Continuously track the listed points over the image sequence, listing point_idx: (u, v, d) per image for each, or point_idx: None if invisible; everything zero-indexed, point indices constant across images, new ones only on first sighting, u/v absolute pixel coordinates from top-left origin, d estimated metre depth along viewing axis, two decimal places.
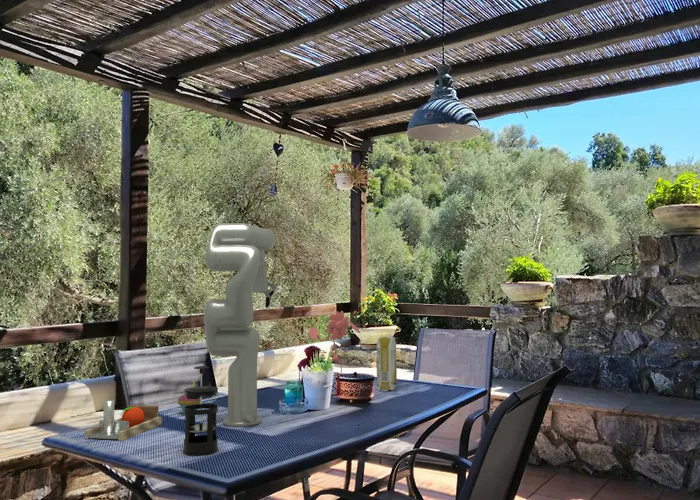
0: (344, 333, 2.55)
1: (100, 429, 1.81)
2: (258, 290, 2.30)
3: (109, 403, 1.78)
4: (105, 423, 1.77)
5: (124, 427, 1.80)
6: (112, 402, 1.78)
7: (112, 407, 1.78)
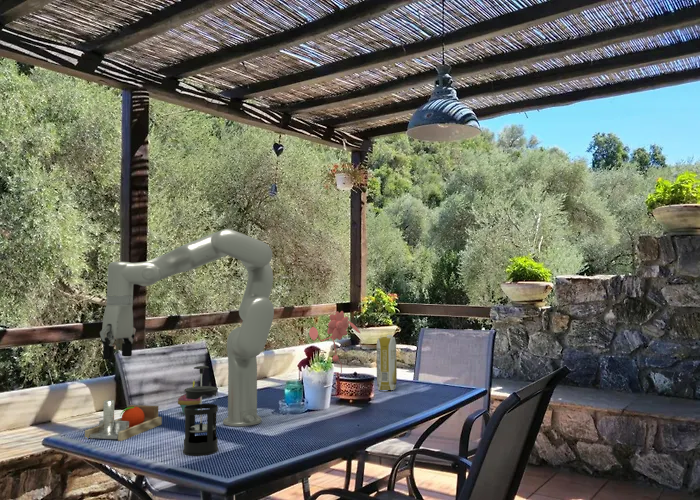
0: (344, 333, 2.55)
1: (100, 429, 1.81)
2: None
3: (109, 403, 1.78)
4: (105, 423, 1.77)
5: (124, 427, 1.80)
6: (112, 402, 1.78)
7: (112, 407, 1.78)
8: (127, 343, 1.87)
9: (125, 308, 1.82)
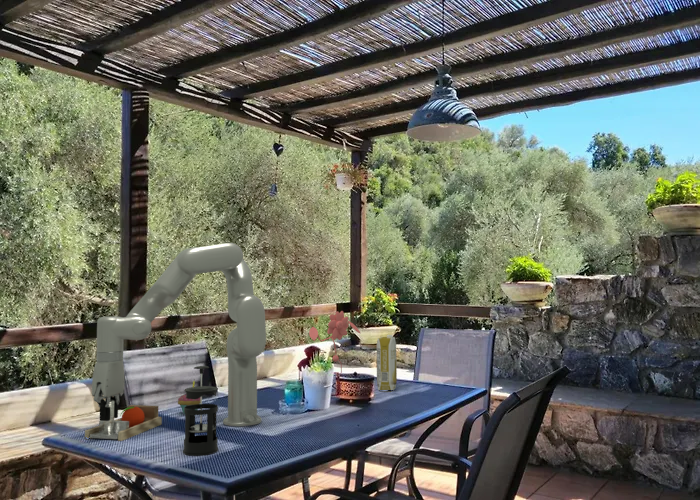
0: (344, 333, 2.55)
1: (100, 429, 1.81)
2: None
3: (109, 403, 1.78)
4: (105, 423, 1.77)
5: (124, 427, 1.80)
6: (112, 402, 1.78)
7: (112, 407, 1.78)
8: None
9: (115, 364, 1.79)
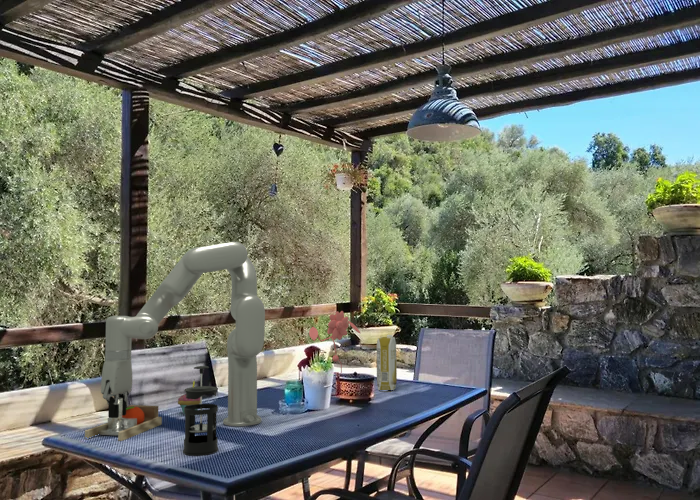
0: (344, 333, 2.55)
1: (109, 426, 1.85)
2: None
3: None
4: (113, 420, 1.81)
5: (132, 424, 1.84)
6: (120, 399, 1.83)
7: (120, 404, 1.83)
8: None
9: (123, 363, 1.83)
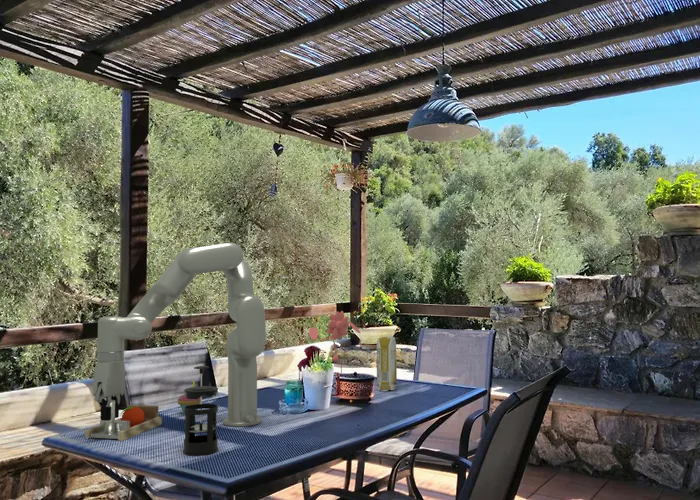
0: (344, 333, 2.55)
1: (101, 429, 1.82)
2: None
3: (110, 403, 1.78)
4: (106, 423, 1.78)
5: (125, 427, 1.80)
6: (113, 402, 1.79)
7: (113, 407, 1.79)
8: None
9: (116, 364, 1.79)
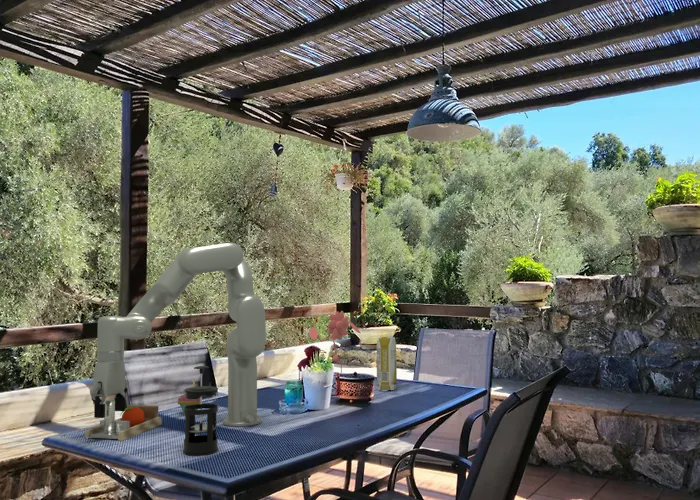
0: (344, 333, 2.55)
1: (101, 429, 1.82)
2: None
3: (109, 403, 1.78)
4: (105, 423, 1.78)
5: (125, 427, 1.80)
6: (113, 402, 1.79)
7: (113, 407, 1.79)
8: (120, 398, 1.84)
9: (116, 364, 1.79)
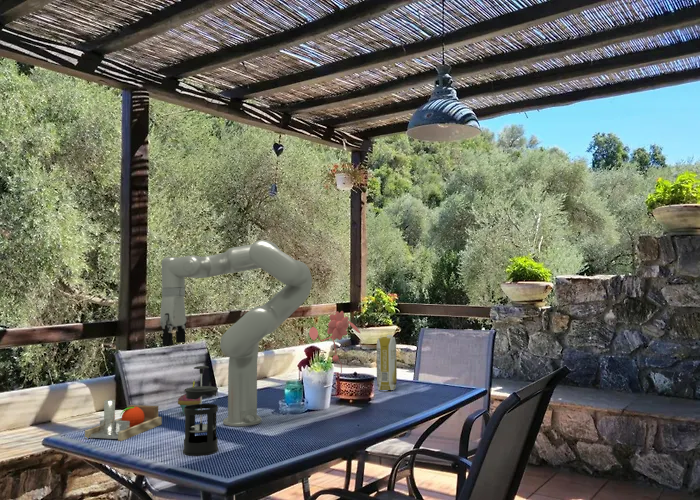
0: (344, 333, 2.55)
1: (101, 429, 1.82)
2: None
3: (109, 403, 1.78)
4: (105, 423, 1.78)
5: (125, 427, 1.80)
6: (113, 402, 1.79)
7: (113, 407, 1.79)
8: (180, 331, 2.07)
9: (179, 299, 2.02)
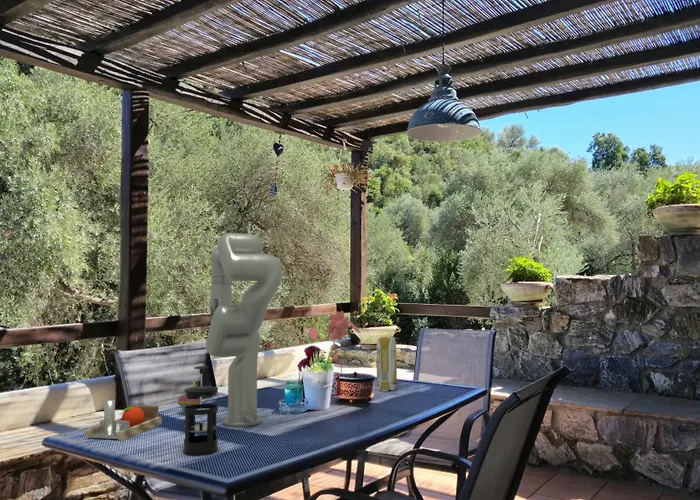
0: (344, 333, 2.55)
1: (101, 429, 1.82)
2: None
3: (109, 403, 1.78)
4: (105, 423, 1.78)
5: (125, 427, 1.80)
6: (113, 402, 1.79)
7: (113, 407, 1.79)
8: None
9: (227, 286, 2.23)
